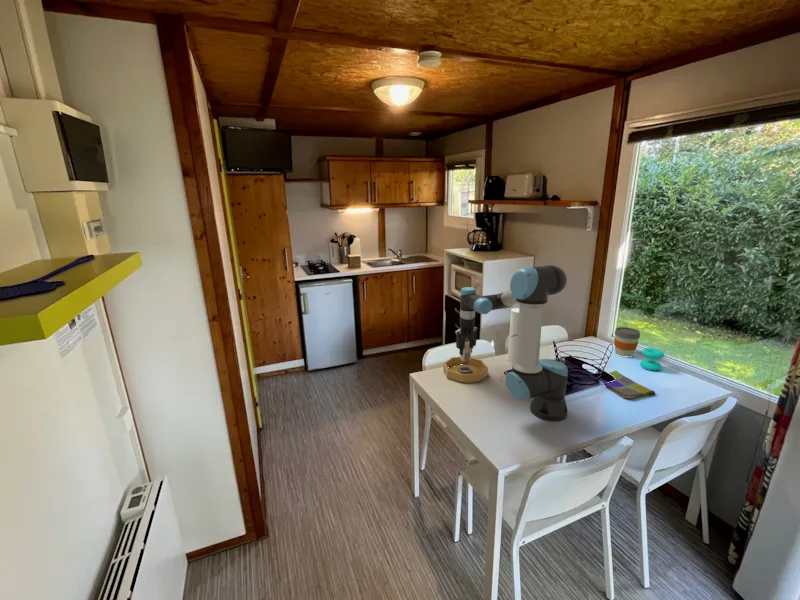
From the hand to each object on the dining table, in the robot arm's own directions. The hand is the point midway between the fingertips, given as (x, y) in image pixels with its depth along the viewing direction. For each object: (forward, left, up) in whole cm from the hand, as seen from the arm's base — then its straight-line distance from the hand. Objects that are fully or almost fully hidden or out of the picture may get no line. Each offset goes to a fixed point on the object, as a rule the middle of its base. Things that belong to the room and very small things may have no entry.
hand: (465, 359), depth 198 cm
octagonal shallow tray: (0, 0, -8) cm, 8 cm away
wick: (0, 0, -2) cm, 2 cm away
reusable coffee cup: (+9, -99, -8) cm, 100 cm away
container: (+11, -33, -8) cm, 36 cm away
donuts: (-9, -101, -8) cm, 102 cm away
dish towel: (-25, -72, -9) cm, 77 cm away
